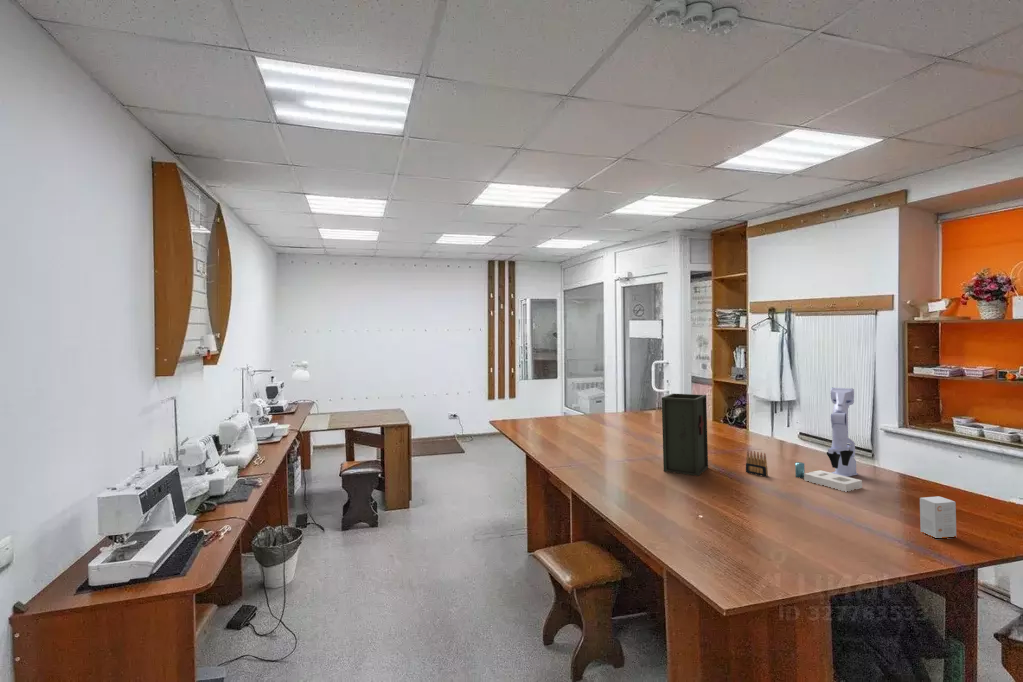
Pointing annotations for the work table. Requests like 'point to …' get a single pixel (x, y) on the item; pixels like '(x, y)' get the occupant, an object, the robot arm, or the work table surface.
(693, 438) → the dark green bin
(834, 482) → the bore block
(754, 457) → the ammunition clip
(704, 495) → the work table surface
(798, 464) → the teal cylinder
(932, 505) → the small box
